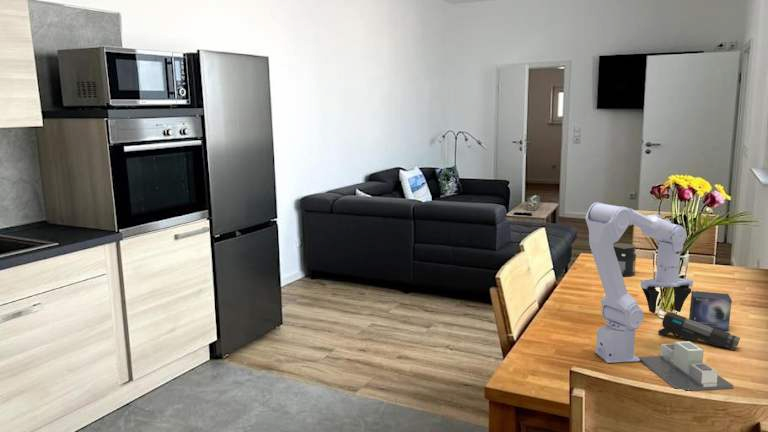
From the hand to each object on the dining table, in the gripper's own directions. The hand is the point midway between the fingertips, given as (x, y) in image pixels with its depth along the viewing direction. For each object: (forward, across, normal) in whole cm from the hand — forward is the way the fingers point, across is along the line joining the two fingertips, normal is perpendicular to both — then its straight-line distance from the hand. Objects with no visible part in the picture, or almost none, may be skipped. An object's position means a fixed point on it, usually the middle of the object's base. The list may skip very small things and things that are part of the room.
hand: (664, 311), depth 170 cm
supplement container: (+11, +27, +76) cm, 81 cm away
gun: (+11, +12, +2) cm, 16 cm away
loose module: (+9, -4, -18) cm, 21 cm away
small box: (+11, +23, +13) cm, 29 cm away
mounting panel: (+10, -5, -18) cm, 21 cm away
